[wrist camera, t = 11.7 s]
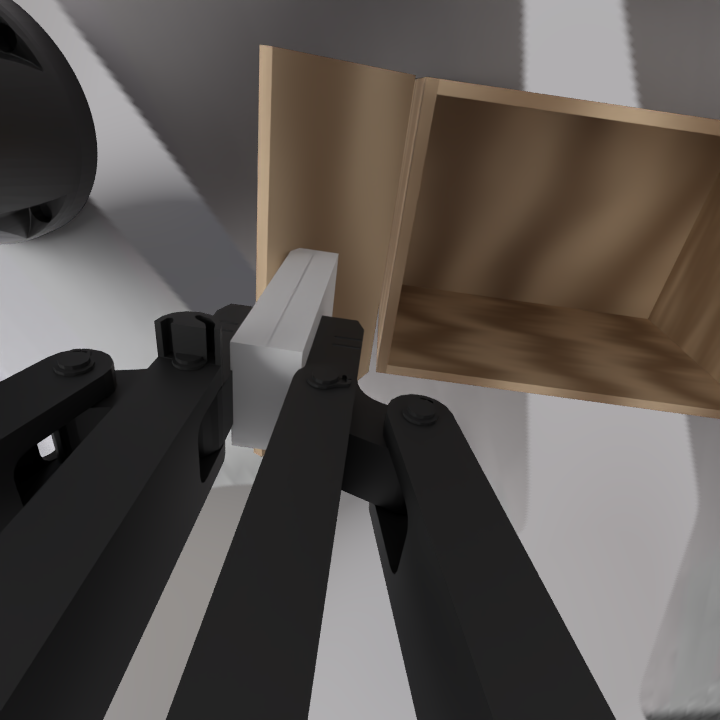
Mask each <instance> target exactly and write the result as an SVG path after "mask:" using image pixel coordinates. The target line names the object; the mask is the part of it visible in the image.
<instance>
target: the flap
mask: <svg viewBox="0 0 720 720" xmlns="http://www.w3.org/2000/svg"><path fill="white" fill-rule="evenodd" d="M415 77H416V75H412V74H407V73H402V72H397V71H392V70H387V69H383V68H378V67H373V66H368V65H363V64H358V63H353V62H348V61H343V60H338V59H333V58H328V57H323V56H318V55H313V54H308V53H303V52H298V51H293V50H288V49H283V48H278V47H273V46H266V45H260V52H259V123H258V194H257V264H256V302H257V301H258V299H259V298H260V296H261V295H262V293H263V292H264V290H265V289H266V287H267V286H268V284H269V283H270V281H271V280H272V278H273V277H274V275H275V274H276V272H277V271H278V269H279V268H280V266H281V265H282V263H283V262H284V260H285V259H286V257H287V256H288V254H289V253H290V251H292V250H295V249H298V248H304V249H311V250H318V251H324V252H331V253H338V254H339V255H338V264H337V274H336V284H335V293H334V303H333V312H332V317H337V318H343V319H350V320H357V321H359V323H360V324H361V326H362V327H363V329H364V335H363V342H362V349H361V356H360V363H359V370H358V377H357V381H358V380H359V379H360V378H361V377H363V376H364V375H365V374H366V373H368V371H369V364H370V358H371V352H372V346H373V339H374V333H375V327H376V321H377V314H378V308H379V302H380V296H381V289H382V283H383V277H384V271H385V264H386V258H387V252H388V246H389V239H390V233H391V227H392V221H393V214H394V208H395V202H396V196H397V189H398V183H399V177H400V171H401V164H402V158H403V152H404V146H405V139H406V133H407V127H408V121H409V114H410V108H411V102H412V96H413V89H414V83H415ZM265 451H266V450H262V449H255V448H254V453H256V454H258V455H260V456H261V457H262V456H264V454H265Z"/></svg>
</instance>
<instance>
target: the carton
mask: <svg viewBox="0 0 720 720" xmlns="http://www.w3.org/2000/svg"><path fill="white" fill-rule="evenodd" d="M376 372H380V373H387V374H394V375H402V376H409V377H416V378H424V379H431V380H438V381H446V382H453V383H460V384H468V385H475V386H482V387H490V388H497V389H504V390H512V391H519V392H526V393H534V394H541V395H548V396H557V397H563V398H571V399H578V400H585V401H592V402H600V403H608V404H614V405H622V406H630V407H636V408H644V409H651V410H658V411H666V412H673V413H681V414H688V415H695V416H703V417H710V418H717V419H720V120H715V119H709V118H702V117H695V116H688V115H682V114H675V113H668V112H661V111H654V110H648V109H641V108H634V107H627V106H620V105H614V104H607V103H600V102H593V101H587V100H580V99H573V98H566V97H559V96H553V95H546V94H539V93H532V92H526V91H519V90H512V89H505V88H499V87H492V86H485V85H478V84H472V83H465V82H458V81H451V80H444V79H438V78H431V77H423V78H419V79H415V83H414V89H413V96H412V102H411V108H410V114H409V121H408V127H407V133H406V139H405V146H404V152H403V158H402V164H401V171H400V177H399V183H398V189H397V196H396V202H395V208H394V214H393V221H392V227H391V233H390V239H389V246H388V252H387V258H386V264H385V271H384V277H383V283H382V289H381V296H380V302H379V320H378V342H377V364H376Z"/></svg>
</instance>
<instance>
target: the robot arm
mask: <svg viewBox="0 0 720 720" xmlns="http://www.w3.org/2000/svg"><path fill="white" fill-rule="evenodd" d="M96 169H97V140H96V133H95V127H94V123H93V119H92V115H91V111H90V108H89V105H88V102H87V100H86V97H85V94H84V92H83V90H82V88H81V85H80V83H79V81H78V79H77V77H76V75H75V73H74V72H73V70H72V68H71V67H70V65H69V63H68V61H67V60H66V58H65V57H64V55H63V54H62V52H61V51H60V50H59V48H58V47H57V45H56V44H55V43H54V41H53V40H52V39H51V38H50V36H49V35H48V34H47V33H46V32H45V31H44V29H43V28H42V27H41V26H40V25H39V24H38V23H37V22H36V21H35V20H34V19H33V18H32V17H31V16H30V15H29V14H28V13H27V12H26V11H25V10H23V9H22V8H21V7H20V6H19V5H18V4H16V3H15V2H14V1H13V0H0V244H12V243H19V242H23V241H28V240H31V239H34V238H37V237H39V236H41V235H44V234H46V233H48V232H51V231H53V230H55V229H58V228H59V227H61V226H63V225H65V224H66V223H67V222H69V221H70V220H71V219H72V218H73V217H75V215H76V214H77V213H78V212H79V211H80V210H81V208H82V207H83V206H84V204H85V202H86V201H87V199H88V197H89V195H90V192H91V190H92V187H93V184H94V180H95V175H96ZM338 255H339V254H338V253H331V252H324V251H318V250H311V249H304V248H298V249H295V250H292V251H290V253H289V254H288V256H287V257H286V259H285V260H284V262H283V263H282V265H281V266H280V268H279V269H278V271H277V272H276V274H275V275H274V277H273V278H272V280H271V281H270V283H269V284H268V286H267V287H266V289H265V290H264V292H263V293H262V295H261V296H260V298H259V299H258V301H257V302H256V303H255V305H254V307H251V306H244V305H237V304H230V305H228V306H225V307H223V308H221V309H219V310H217V311H216V313H215V314H214V315H213V316H212V315H209V314H205V313H201V312H188V311H186V312H176V313H171V314H168V315H164V316H162V317H160V318H159V319H157V320H155V321H154V322H155V331H156V341H157V350H158V358H157V359H156V360H155V361H154V362H153V363H152V364H151V365H150V366H149V368H148V369H139V370H115V369H114V363H113V360H112V358H111V357H110V355H108V354H106V353H104V352H102V351H97V350H92V349H72V350H70V351H65V352H60V353H57V354H55V355H52V356H50V357H47V358H45V359H43V360H41V361H40V362H38V363H36V364H34V365H32V366H30V367H28V368H26V369H24V370H22V371H20V372H18V373H16V374H14V375H12V376H11V377H9V378H7V379H5V380H3V381H1V382H0V720H103V719H104V716H105V714H106V712H107V710H108V708H109V706H110V704H111V701H112V699H113V697H114V695H115V693H116V691H117V688H118V686H119V684H120V682H121V680H122V678H123V676H124V673H125V671H126V669H127V667H128V665H129V663H130V660H131V659H132V656H133V654H134V652H135V650H136V648H137V646H138V644H139V642H140V639H141V637H142V635H143V633H144V631H145V629H146V627H147V624H148V622H149V620H150V618H151V616H152V613H153V612H154V609H155V607H156V605H157V603H158V601H159V599H160V596H161V594H162V592H163V590H164V588H165V586H166V584H167V582H168V580H169V577H170V575H171V573H172V571H173V569H174V567H175V565H176V562H177V560H178V558H179V556H180V553H181V552H182V550H183V547H184V545H185V543H186V541H187V539H188V537H189V534H190V532H191V530H192V528H193V526H194V524H195V522H196V520H197V517H198V515H199V513H200V511H201V509H202V507H203V505H204V503H205V500H206V498H207V496H208V494H209V492H210V490H211V488H212V485H213V483H214V481H215V479H216V477H217V475H218V473H219V470H220V468H221V466H222V464H223V462H224V458H225V439H226V437H227V435H228V433H229V431H230V429H231V431H232V445H235V446H242V447H248V448H255V449H262V450H266V451H265V454H264V456H263V459H262V462H261V465H260V467H259V470H258V473H257V475H256V478H255V481H254V483H253V486H252V489H251V492H250V494H249V497H248V500H247V502H246V505H245V508H244V510H243V513H242V516H241V518H240V521H239V524H238V527H237V529H236V532H235V535H234V537H233V540H232V543H231V546H230V548H229V551H228V553H227V556H226V559H225V562H224V565H223V567H222V570H221V572H220V575H219V578H218V581H217V583H216V586H215V588H214V592H213V594H212V597H211V599H210V602H209V605H208V607H207V610H206V613H205V615H204V618H203V621H202V624H201V626H200V629H199V632H198V634H197V637H196V640H195V642H194V645H193V648H192V650H191V653H190V656H189V659H188V661H187V664H186V667H185V669H184V672H183V675H182V677H181V680H180V683H179V686H178V688H177V691H176V694H175V696H174V699H173V702H172V704H171V707H170V710H169V713H168V715H167V718H166V720H308V713H309V706H310V699H311V693H312V686H313V679H314V672H315V665H316V659H317V652H318V645H319V638H320V631H321V624H322V618H323V611H324V604H325V597H326V590H327V583H328V577H329V569H330V563H331V555H332V548H333V542H334V535H335V529H336V522H337V515H338V508H339V501H340V495H341V490H343V491H345V492H347V493H350V494H352V495H354V496H356V497H359V498H361V499H364V500H366V501H368V502H369V512H370V516H371V520H372V525H373V529H374V534H375V538H376V542H377V546H378V551H379V555H380V560H381V564H382V568H383V573H384V577H385V581H386V586H387V590H388V595H389V599H390V603H391V608H392V612H393V616H394V620H395V625H396V629H397V634H398V638H399V642H400V647H401V651H402V656H403V660H404V664H405V669H406V673H407V677H408V682H409V686H410V690H411V695H412V699H413V704H414V708H415V712H416V717H417V720H616V719H615V717H614V715H613V713H612V711H611V709H610V707H609V706H608V704H607V702H606V700H605V698H604V696H603V694H602V692H601V691H600V689H599V687H598V685H597V683H596V681H595V679H594V677H593V676H592V674H591V672H590V670H589V668H588V666H587V665H586V663H585V661H584V659H583V657H582V655H581V653H580V651H579V650H578V648H577V646H576V644H575V642H574V640H573V638H572V637H571V635H570V633H569V631H568V629H567V627H566V626H565V623H564V621H563V620H562V618H561V616H560V614H559V612H558V610H557V608H556V607H555V605H554V603H553V601H552V599H551V597H550V595H549V593H548V592H547V590H546V588H545V586H544V584H543V582H542V580H541V579H540V577H539V575H538V573H537V571H536V569H535V567H534V566H533V564H532V562H531V560H530V558H529V556H528V554H527V552H526V551H525V549H524V547H523V545H522V543H521V541H520V539H519V538H518V536H517V534H516V532H515V530H514V528H513V526H512V524H511V523H510V521H509V519H508V517H507V515H506V513H505V511H504V509H503V508H502V506H501V504H500V502H499V500H498V498H497V496H496V495H495V493H494V491H493V489H492V487H491V485H490V483H489V481H488V480H487V478H486V476H485V474H484V472H483V470H482V468H481V467H480V465H479V463H478V461H477V459H476V457H475V455H474V453H473V452H472V450H471V448H470V446H469V444H468V442H467V440H466V438H465V437H464V435H463V433H462V431H461V429H460V427H459V425H458V424H457V422H456V420H455V418H454V416H453V414H452V413H451V412H450V411H449V409H448V408H447V407H446V406H445V405H443V404H442V403H440V402H438V401H437V400H435V399H432V398H430V397H427V396H422V395H414V394H409V395H401V396H399V397H396V398H394V399H392V400H391V402H390V403H389V404H388V405H386V404H383V403H380V402H378V401H376V400H374V399H372V398H370V397H369V396H367V395H366V394H365V393H364V392H363V391H362V390H361V389H360V387H359V385H358V381H357V377H358V370H359V363H360V356H361V349H362V342H363V335H364V329H363V327H362V326H361V324H360V323H359V321H357V320H350V319H343V318H337V317H332V312H333V303H334V293H335V284H336V274H337V264H338ZM49 435H52V439H53V443H54V446H55V451H53V452H52V453H51V454H49V455H47V456H45V457H41V455H40V453H39V449H38V446H37V444H38V443H39V442H41V441H42V440H44V439H45V438H46V437H48V436H49Z"/></svg>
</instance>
